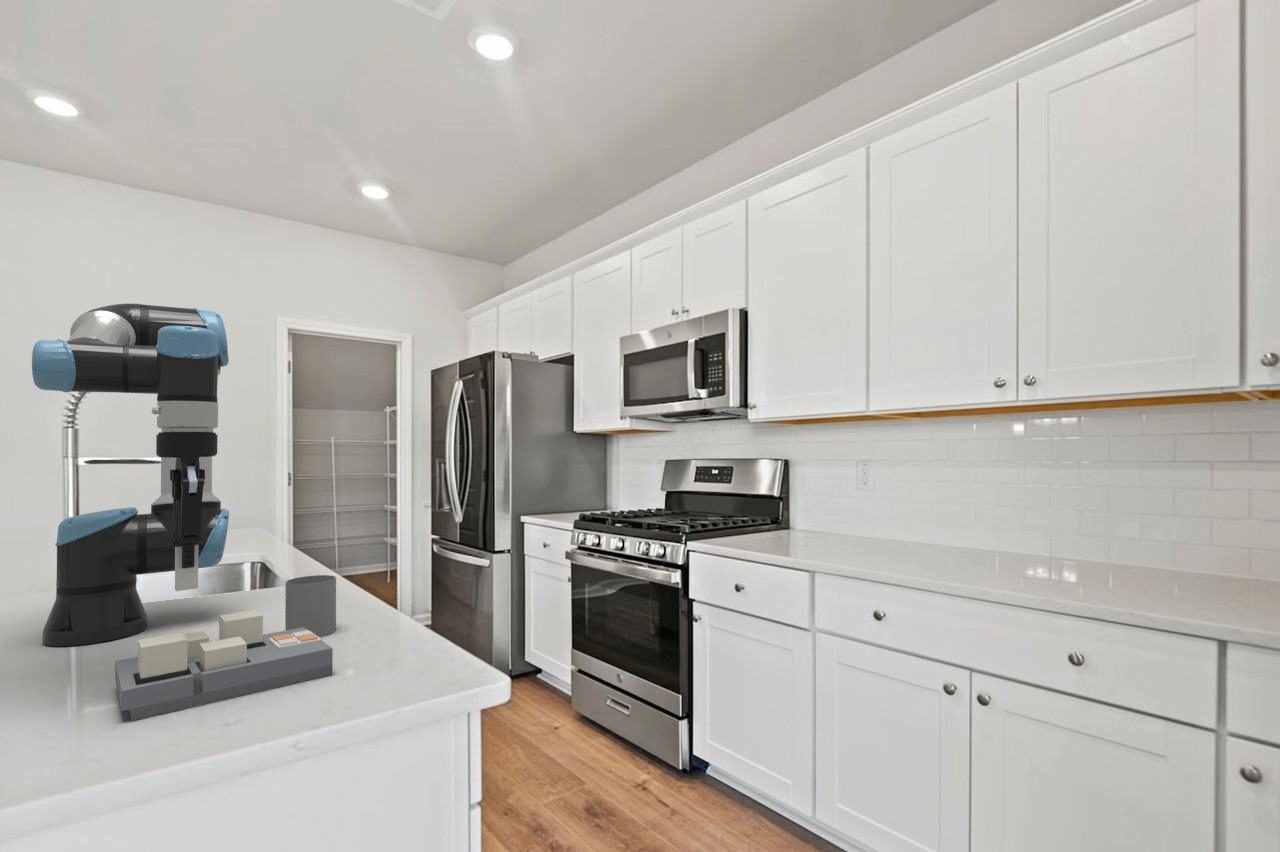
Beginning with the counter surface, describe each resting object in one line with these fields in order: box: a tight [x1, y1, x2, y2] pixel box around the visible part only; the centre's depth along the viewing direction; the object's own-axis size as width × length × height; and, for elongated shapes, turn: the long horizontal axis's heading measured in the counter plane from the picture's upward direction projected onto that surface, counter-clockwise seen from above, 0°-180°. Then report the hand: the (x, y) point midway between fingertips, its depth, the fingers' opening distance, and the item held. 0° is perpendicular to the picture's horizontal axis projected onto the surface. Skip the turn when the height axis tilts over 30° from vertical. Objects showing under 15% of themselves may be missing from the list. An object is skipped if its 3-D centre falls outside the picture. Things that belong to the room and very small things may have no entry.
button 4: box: [218, 609, 264, 644], centre depth 101 cm, size 5×5×4 cm
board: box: [114, 627, 333, 722], centre depth 96 cm, size 16×25×5 cm, turn 131°
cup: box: [284, 574, 337, 638], centre depth 121 cm, size 8×8×10 cm
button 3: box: [199, 637, 247, 672], centre depth 93 cm, size 5×5×4 cm
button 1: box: [137, 632, 187, 679], centre depth 88 cm, size 5×5×4 cm
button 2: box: [183, 630, 210, 660], centre depth 96 cm, size 5×5×4 cm
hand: (186, 588), depth 97 cm, fingers closed
